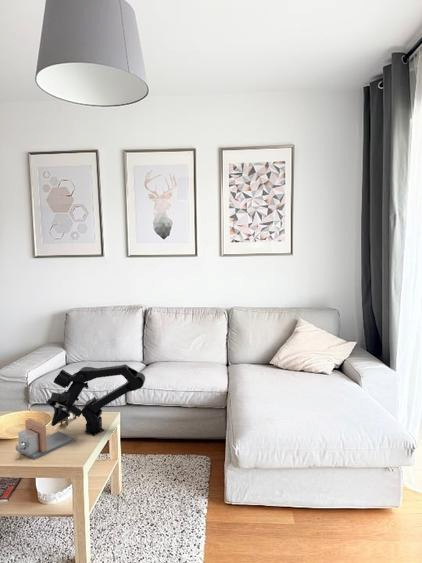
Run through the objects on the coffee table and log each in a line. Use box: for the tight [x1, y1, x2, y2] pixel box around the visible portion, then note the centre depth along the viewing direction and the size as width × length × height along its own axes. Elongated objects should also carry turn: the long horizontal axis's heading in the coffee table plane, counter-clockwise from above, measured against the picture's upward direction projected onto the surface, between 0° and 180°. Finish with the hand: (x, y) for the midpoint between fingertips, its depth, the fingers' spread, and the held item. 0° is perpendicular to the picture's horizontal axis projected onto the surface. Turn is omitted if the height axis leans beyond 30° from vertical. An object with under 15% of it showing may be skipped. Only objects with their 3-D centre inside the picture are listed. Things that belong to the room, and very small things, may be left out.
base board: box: [18, 431, 76, 461], centre depth 161 cm, size 19×12×1 cm, turn 146°
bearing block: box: [17, 428, 39, 457], centre depth 154 cm, size 4×8×8 cm, turn 56°
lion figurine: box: [59, 412, 77, 427], centre depth 184 cm, size 15×5×9 cm, turn 0°
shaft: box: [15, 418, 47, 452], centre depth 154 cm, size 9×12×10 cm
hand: (52, 425), depth 163 cm, fingers closed
